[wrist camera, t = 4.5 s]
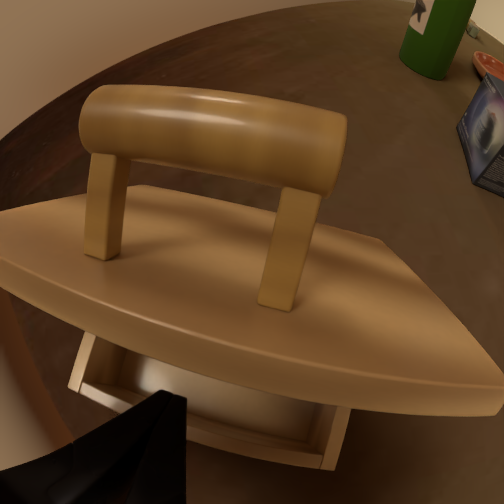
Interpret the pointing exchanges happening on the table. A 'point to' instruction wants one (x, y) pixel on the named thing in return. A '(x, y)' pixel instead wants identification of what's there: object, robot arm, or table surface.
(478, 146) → the small box
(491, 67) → the saucer
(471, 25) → the medication box
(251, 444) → the chest
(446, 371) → the chest lid
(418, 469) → the table surface
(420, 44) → the wine bottle
